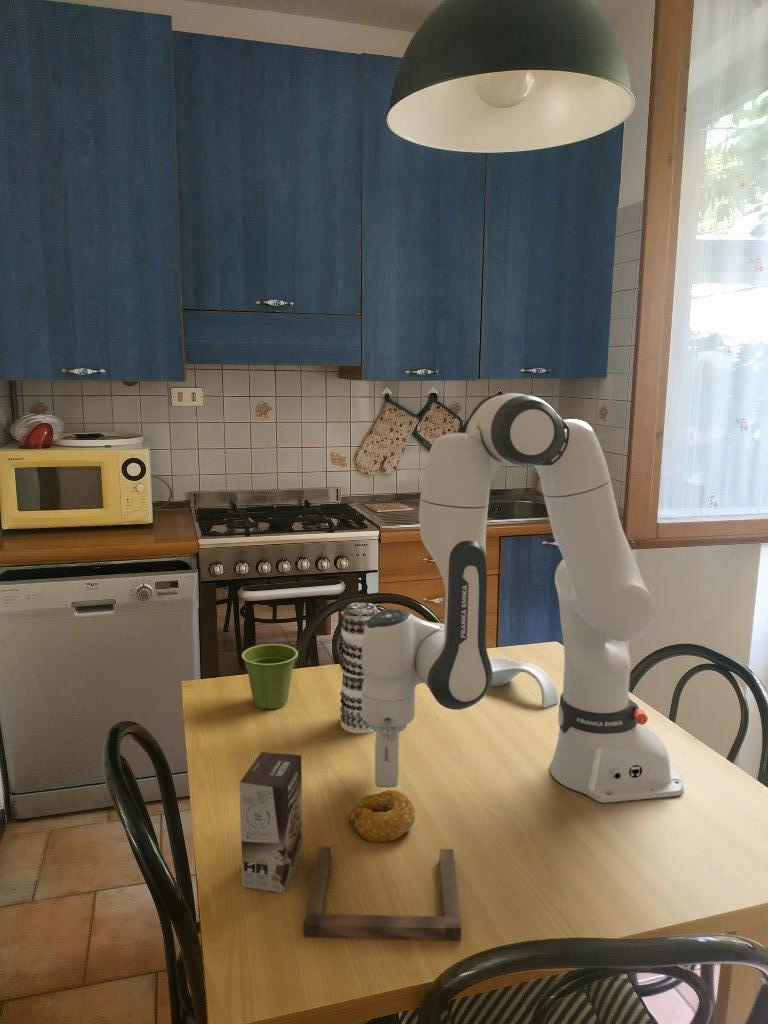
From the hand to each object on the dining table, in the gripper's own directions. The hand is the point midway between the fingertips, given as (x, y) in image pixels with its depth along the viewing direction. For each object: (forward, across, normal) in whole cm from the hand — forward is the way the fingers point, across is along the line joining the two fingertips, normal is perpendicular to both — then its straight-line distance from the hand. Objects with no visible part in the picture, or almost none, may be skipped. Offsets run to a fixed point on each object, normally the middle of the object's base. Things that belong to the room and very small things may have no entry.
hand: (387, 782), depth 129 cm
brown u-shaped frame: (+2, -25, 0) cm, 25 cm away
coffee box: (+2, -20, +16) cm, 26 cm away
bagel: (+3, -9, +1) cm, 9 cm away
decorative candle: (+2, +26, +6) cm, 26 cm away
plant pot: (+2, +35, +26) cm, 43 cm away
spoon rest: (+3, +44, -27) cm, 52 cm away
